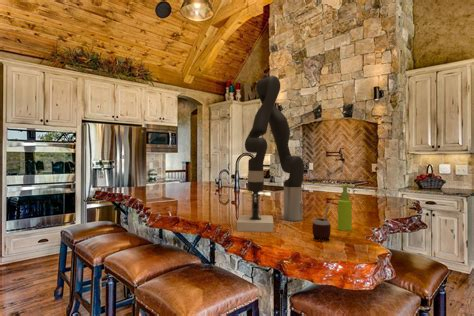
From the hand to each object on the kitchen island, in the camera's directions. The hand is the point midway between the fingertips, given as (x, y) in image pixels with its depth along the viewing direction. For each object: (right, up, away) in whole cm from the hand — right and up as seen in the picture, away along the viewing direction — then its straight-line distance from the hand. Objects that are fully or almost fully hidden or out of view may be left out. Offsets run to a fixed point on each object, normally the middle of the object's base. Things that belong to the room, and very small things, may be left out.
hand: (255, 217), depth 137 cm
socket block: (0, -5, 0) cm, 5 cm away
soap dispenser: (+41, -5, -3) cm, 41 cm away
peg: (0, -2, 0) cm, 2 cm away
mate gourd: (+25, -5, -19) cm, 32 cm away
